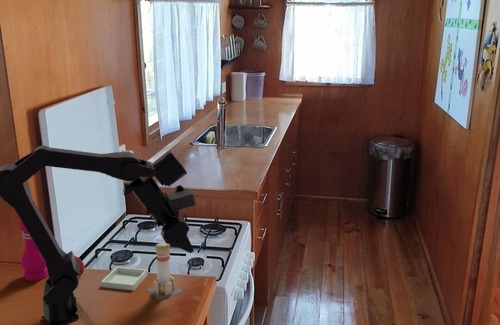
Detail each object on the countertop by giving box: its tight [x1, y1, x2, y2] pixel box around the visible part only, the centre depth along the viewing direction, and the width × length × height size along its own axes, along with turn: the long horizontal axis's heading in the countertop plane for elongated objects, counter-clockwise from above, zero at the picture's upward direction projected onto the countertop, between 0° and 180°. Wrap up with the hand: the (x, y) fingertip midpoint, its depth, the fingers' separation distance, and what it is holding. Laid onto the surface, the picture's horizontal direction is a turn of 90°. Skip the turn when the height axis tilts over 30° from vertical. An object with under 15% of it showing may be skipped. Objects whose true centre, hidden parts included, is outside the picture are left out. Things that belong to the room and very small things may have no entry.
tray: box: [100, 266, 149, 292], centre depth 133 cm, size 9×9×3 cm
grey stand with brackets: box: [146, 275, 184, 300], centre depth 127 cm, size 7×7×4 cm
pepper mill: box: [18, 218, 49, 282], centre depth 136 cm, size 7×7×20 cm
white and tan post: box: [155, 242, 171, 294], centre depth 126 cm, size 4×4×12 cm
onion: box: [74, 255, 85, 278], centre depth 135 cm, size 6×6×8 cm
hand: (188, 244), depth 123 cm, fingers open, 9 cm apart
